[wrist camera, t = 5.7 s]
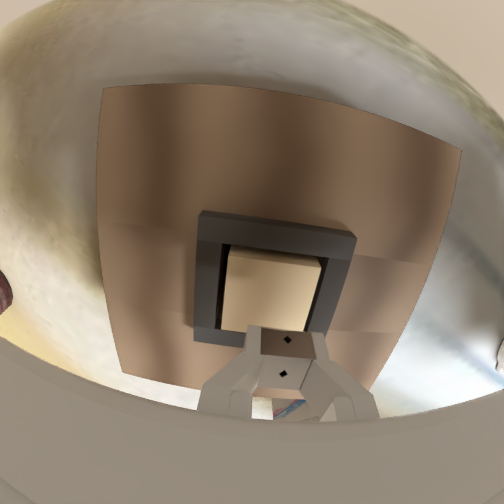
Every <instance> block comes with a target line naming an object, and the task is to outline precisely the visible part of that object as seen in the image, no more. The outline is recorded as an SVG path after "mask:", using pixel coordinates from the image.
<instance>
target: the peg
mask: <svg viewBox="0 0 504 504" xmlns="http://www.w3.org/2000/svg"><path fill="white" fill-rule="evenodd" d="M320 271H321V266H320V264H319V262H318V259H317V257H316V256H313V255H306V254H298V253H291V252H283V251H276V250H269V249H261V248H254V247H246V246H239V245H231V248H230V252H229V256H228V265H227V274H226V284H225V294H224V304H223V314H222V325H221V329H222V330H229V331H236V332H244V333H246V331H247V326H248V324H250V325H257V326H264V327H271V328H278V329H286V330H294V331H303V329H304V326H305V323H306V320H307V317H308V313H309V310H310V306H311V303H312V300H313V296H314V293H315V289H316V286H317V282H318V278H319V275H320Z"/></svg>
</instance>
